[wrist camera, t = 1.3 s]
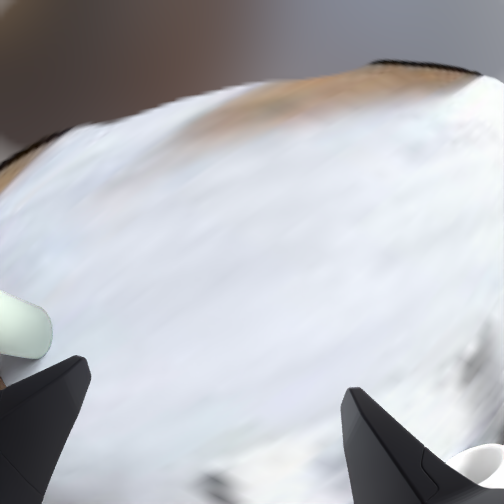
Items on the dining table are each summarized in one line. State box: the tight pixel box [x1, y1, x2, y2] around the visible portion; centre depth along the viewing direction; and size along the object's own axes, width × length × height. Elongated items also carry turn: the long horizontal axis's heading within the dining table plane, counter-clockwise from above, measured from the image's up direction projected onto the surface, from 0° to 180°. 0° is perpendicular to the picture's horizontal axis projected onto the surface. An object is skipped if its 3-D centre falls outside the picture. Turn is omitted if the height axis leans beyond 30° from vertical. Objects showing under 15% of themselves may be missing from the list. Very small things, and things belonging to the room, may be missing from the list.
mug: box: [445, 444, 504, 488], centre depth 12 cm, size 12×10×8 cm
